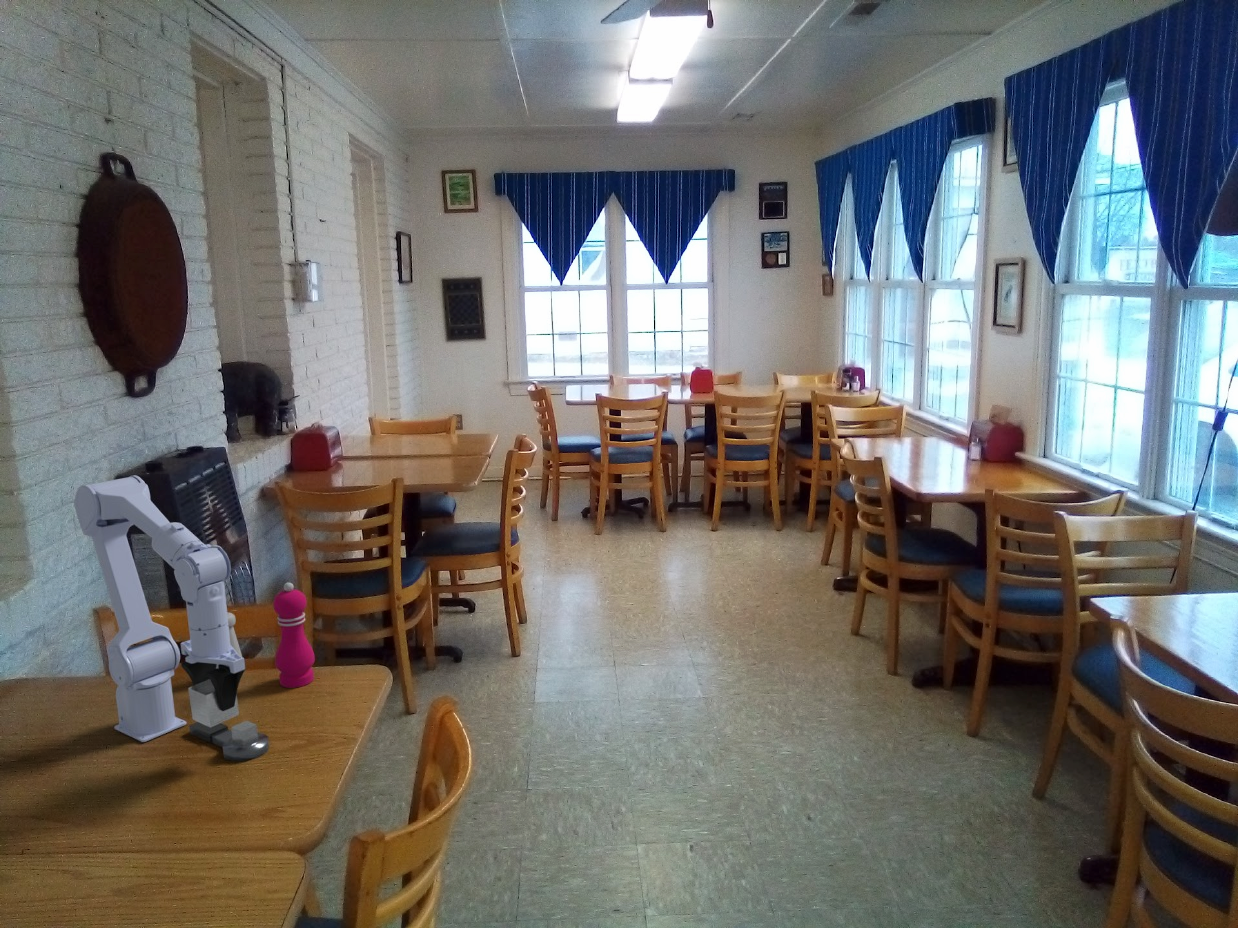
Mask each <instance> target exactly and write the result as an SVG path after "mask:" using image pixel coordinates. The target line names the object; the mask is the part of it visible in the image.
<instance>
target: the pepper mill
mask: <svg viewBox="0 0 1238 928" xmlns="http://www.w3.org/2000/svg"><path fill="white" fill-rule="evenodd" d="M294 587H295V586H294V584H293V583H291V582H286V583H284V585H283V590H281V591H280V592H278V593H277V594H276V595H275V597H274V599H273V604H272V605H273V610H274V612H275V613H276V614H277V615H278V616H277V625H279V626H280V630H281V632H280V633H281V639H280V643H279V645H278V648H277V650H276V654H275V659H274V660H275V661H274V663H275V667H276V669H277V670H278V671H279V672H280V673H279V676H278V677H279V684H280V686H281V687H284V688H289V689H291V688H293V689H294V688H301V687H304V686H306V685H307V686H308V685H309V684H310V683H312V682H313V681H314V679H315V677H314V676H315V675H314V669H313V668H312V666H313V665H314V663H315V661H316V658H315V657H316V655H315V653H314V650H313V647H312V645H311V643H309V641H308V638H307V637H306V634H305V630H304V623H305V621H306V618H305V616H306V613H305V612H304V611H305V609H306V608H307V602H308V601H307V598H306V596H305V594H304V593H303V592H302V591H301V590H298V589H294Z"/></svg>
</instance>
